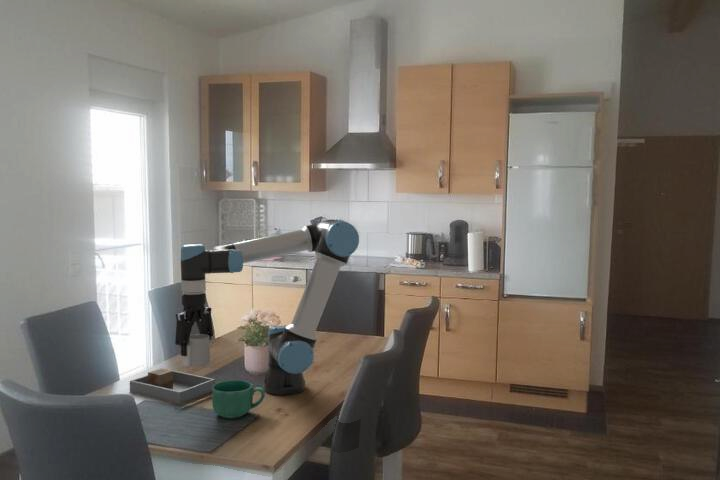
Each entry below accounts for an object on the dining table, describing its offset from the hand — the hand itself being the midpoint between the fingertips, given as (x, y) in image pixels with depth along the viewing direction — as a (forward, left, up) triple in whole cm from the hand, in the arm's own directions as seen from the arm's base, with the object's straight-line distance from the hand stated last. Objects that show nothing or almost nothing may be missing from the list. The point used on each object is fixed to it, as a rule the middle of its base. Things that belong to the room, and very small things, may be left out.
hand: (195, 362), depth 201 cm
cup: (0, 0, 0) cm, 1 cm away
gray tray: (+19, -9, -16) cm, 26 cm away
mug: (-15, -4, -16) cm, 22 cm away
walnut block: (+25, -9, -15) cm, 31 cm away
